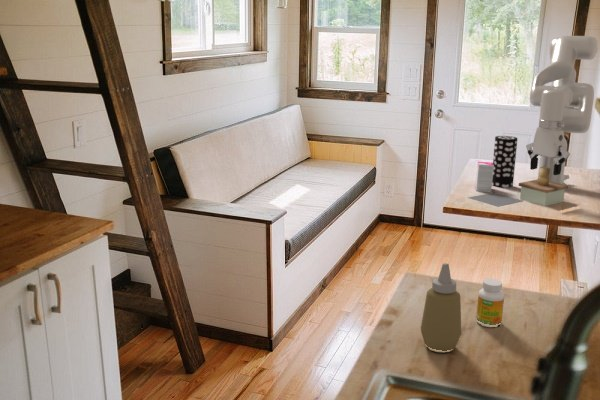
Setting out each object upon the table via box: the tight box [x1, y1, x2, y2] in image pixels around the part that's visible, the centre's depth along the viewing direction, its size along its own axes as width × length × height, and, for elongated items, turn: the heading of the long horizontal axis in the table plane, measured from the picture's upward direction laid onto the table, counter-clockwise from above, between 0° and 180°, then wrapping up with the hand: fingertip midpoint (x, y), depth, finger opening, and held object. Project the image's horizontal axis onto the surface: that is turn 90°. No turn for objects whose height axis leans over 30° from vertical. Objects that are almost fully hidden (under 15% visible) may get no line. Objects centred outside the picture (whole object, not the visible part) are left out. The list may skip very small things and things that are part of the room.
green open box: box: [519, 186, 566, 207], centre depth 234 cm, size 11×11×6 cm
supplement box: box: [474, 161, 494, 193], centre depth 247 cm, size 6×6×12 cm
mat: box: [467, 192, 523, 208], centre depth 236 cm, size 14×14×1 cm
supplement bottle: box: [475, 278, 505, 325], centre depth 140 cm, size 5×5×10 cm
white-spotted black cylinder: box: [492, 135, 519, 189], centre depth 254 cm, size 8×8×20 cm
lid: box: [518, 167, 569, 193], centre depth 232 cm, size 12×12×7 cm
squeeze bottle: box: [420, 262, 462, 351], centre depth 128 cm, size 8×8×18 cm
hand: (544, 171), depth 232 cm, fingers open, 9 cm apart
